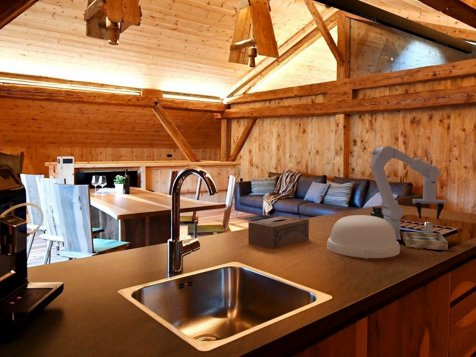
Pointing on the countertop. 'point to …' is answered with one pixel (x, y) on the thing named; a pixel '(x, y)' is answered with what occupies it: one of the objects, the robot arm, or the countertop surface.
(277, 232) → the tissue box cover
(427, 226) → the steel peg
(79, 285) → the countertop surface
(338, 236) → the dome cover
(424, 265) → the countertop surface
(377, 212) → the supplement bottle
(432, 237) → the peg box
